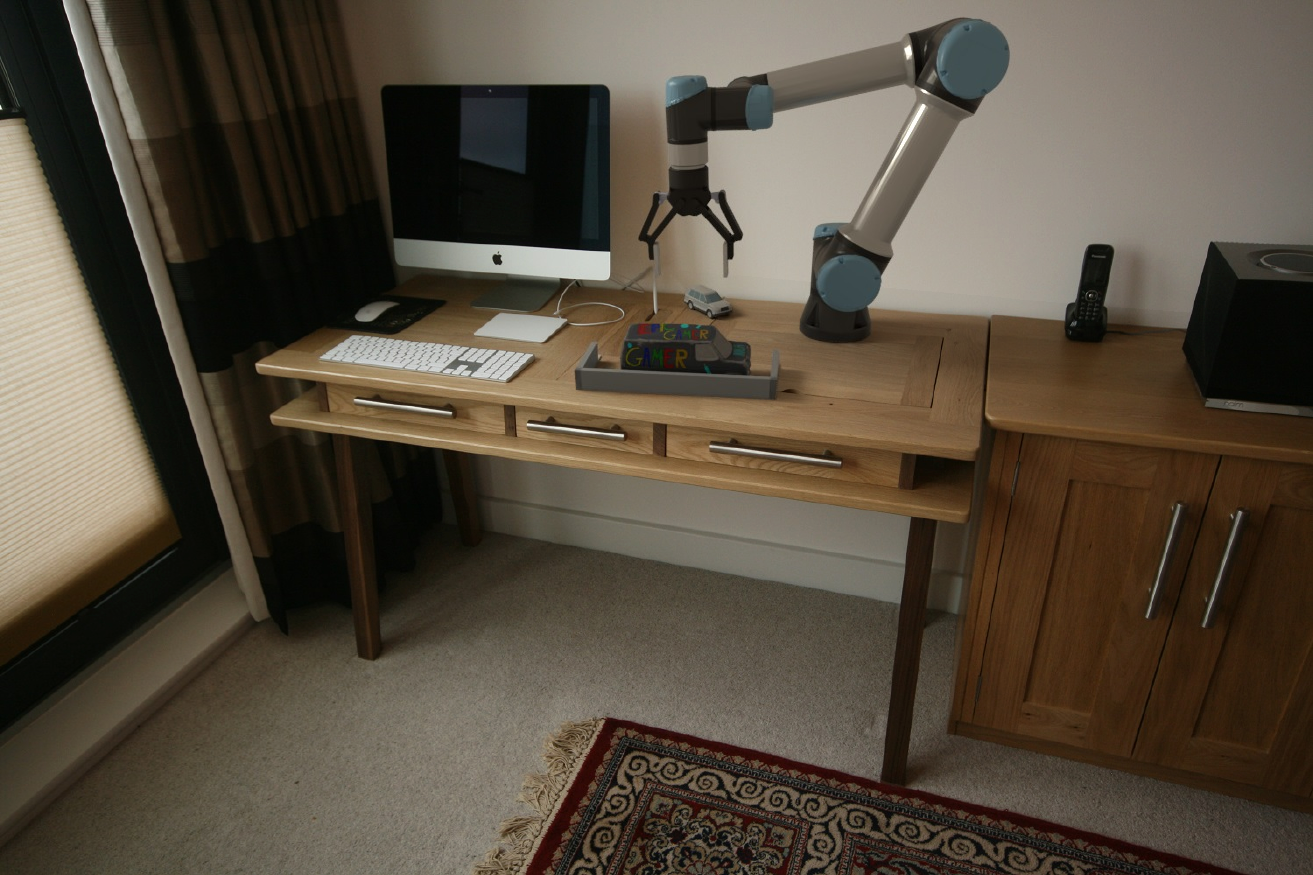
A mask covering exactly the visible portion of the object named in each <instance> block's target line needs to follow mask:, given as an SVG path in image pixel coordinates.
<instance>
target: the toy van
mask: <svg viewBox="0 0 1313 875" xmlns="http://www.w3.org/2000/svg"><path fill="white" fill-rule="evenodd" d="M751 357H752V348H751V345H750V343H748V342H747V341H734V340H728V338H726V337H725V336H724V334H722V332H720V330H719V329H718V328H717V327H716V326H715V325H710V324H706V325H705V324H695V323H693V324H692V323H631V324H630V325H629V326H628V328H627V331H626V334H625V336H624V338H623V342H622V346H621V352H620V356H619V361H620V362H619V363H620V364H619V365H620V369H619V370H639V371H660V372H681V373H702V374H724V375H745V376H752V375H751V373H752V371H751V367H752V360H751Z"/></svg>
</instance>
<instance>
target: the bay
mask: <svg viewBox="0 0 1313 875" xmlns="http://www.w3.org/2000/svg"><path fill="white" fill-rule="evenodd" d="M598 345H599V344H598V341H590V343H589V346H587V349H586V350H585V352H584V354H583V355H582V357H581V358H580V360H579V362H578V363H577V365H576V367H575V369H574V379H575V383H574V384H575V390H577V391H593V392H594V391H595V392H596V391H597V392H599V391H600V392H613V393H614V392H616V393H619V392H620V393H634V394H635V393H636V394H637V393H639V394H657V395H672V396H674V395H676V396H693V397H694V396H695V397H696V396H697V397H712V398H730V399H731V398H735V399H750V400H751V399H753V400H772V401H775V400H777V392H778V391H777V390H778V380H779V368H780V349H773V351H772V356H771V358H772V360H771V367H770V376H766V375H764V376H763V375H760V376H759V375H751V376H745V375H724V374H702V373H681V372H660V371H639V370H620V369H615V368H613V369H612V368H596V366H597V364H598V362H599V361H600V359H601V357H602V355H601V354H599V347H598Z"/></svg>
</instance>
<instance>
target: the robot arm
mask: <svg viewBox="0 0 1313 875" xmlns="http://www.w3.org/2000/svg"><path fill="white" fill-rule="evenodd" d="M1009 46H1010V45H1009V43H1008V39H1007V38H1006V36H1005V34H1004V33H1003V32H1002V30H1000V29H999V28H998V27H997V26H996V25H994V24H992V23H991V22H990V21H986V20H983V19H981V18H970V17H964V16H963V17H955V18H952V19H948V20H946V21H943V22H940V23H938V24H935V25H933V26H929V27H926V28H923V29H920V30H917V31H912V32H907V33H905V34H904V35H903V37H902V39H900V41H895V42H892V43H888V44H883V45H879V46H874V47H870V48H865V49H860V50H858V51H854V52H849V53H844V54H840V55H837V56H836V55H835V56H832V57H826V58H823V59H818V60H815V61H811V62H806V63H803V64H797V65H793V66H790V67H789V66H788V67H784V68H780V69H776V70H771V71H767V72H766V73H760V74H756V75H751V76H747V75H743V76H739V77H736V78H734V79H733V80H731V81H730V82H729V83H728V84H727V86H718V87H716V86H715V87H714V86H709V85H708V81H707V78H706V77H705V76H704V75H698V74H697V75H696V74H695V75H692V74H691V75H686V74H684V75H677V76H671V77H670V78H669V79H668V80H667V81H666V82H665V103H664V104H665V105H664V106H665V121H666V136H667V139H666V140H667V141H666V145H667V148H666V149H667V164H668V165H669V168H668V171H667V172H668V188H669V189H668V192H661V191H660V190H655V192H653V195H652V203H651V204H652V205H651V207H650V209H649V212H648V214H647V217H646V219H645V221H644V224H643V225H642V227H641V230H640V232H639V235H638V238H637V240H638V241H639V242H644V243H646V245H647V249H648V259H649V260H650V261H653V264H654V278H657V279H658V278H659V277H660V276H661V274H662V273H661V271H662V270H661V268H662V267H661V251H660V247H661V246H660V241H656V240H657V239H658V238H659V237H660V236H661V234H662V233H663V231H664V230H666V228H667V227H668V226H669V224H670V223H671V222H672V220H673V219H674V218H675V216H676V215H677V214H678V215H679V216H681V217H688V216H692V217H698V216H702V217H703V218H704V219H706V220H707V221H708V222H709V224H710V225H711V226H712V228H713V229H714V230H715V231H716V232H717V233H718V234H719V235H720V236H721V238H722V239H723V240H724V241H723V244H722V261H723V262H722V265H723V266H722V268H723V271H722V272H723V275H722V276H723V278H724V279H725V278H726V279H727V278H728V277H729V261H731V260H733V258H734V256H735V243H736V242H740V241H742V239H743V237H744V233H743V231H742V229H741V227H740V224H739V222H738V220H737V219H736V216H735V214H734V212H733V211H732V209H731V207H730V205H729V203H728V199H727V194H726V190H725V189H721V190H718V191H714V192H712V191H711V190H710V180H709V179H710V177H709V176H710V175H709V174H710V173H709V169H710V168H709V166H708V165H707V163H709V138H708V137H709V136H708V135H709V134H708V133H709V132H717V131H718V132H723V131H752V132H754V131H755V132H756V131H758V130H767V129H770V128H771V127H772V126H773V123H774V114H775V113H781V112H785V111H790V110H794V109H798V108H803V107H808V106H811V105H812V106H813V105H816V104H817V105H818V104H821V103H826V102H830V101H836V100H839V99H843V98H849V97H853V96H859V95H863V94H867V93H872V92H875V91H880V90H881V91H882V90H886V89H889V88H894V87H899V86H903V85H906V86H907V87H908V88H910V89H914V92H915V96H916V98H915V102H914V104H913V106H912V107H911V109H910V111H909V113H908V115H907V117H906V118H905V121H904V122H903V124H902V126H901V128H900V130H899V132H898V134H897V135H896V137H895V139H894V140H893V143H892V145H891V146H890V149H889V150H888V151H887V154H886V156H885V157H884V160H883V161H882V163H881V165H880V167H879V169H878V171H877V173H876V174H875V176H874V178H873V180H872V182H871V183H870V186H869V187H868V189H867V191H866V193H865V195H864V197H863V198H862V199H861V200H862V201H861V202H860V204H859V206H858V207H857V210H856V212H855V214H854V216H853V217H852V218H851V221H850V222H826V223H825V222H824V223H821V224H818V225H817V226H815V228H814V233H813V236H812V241H813V243H812V244H813V245H812V259H811V260H812V261H811V272H810V273H811V276H810V289H809V295H808V298H807V301H806V303H805V306H804V308H803V310H802V312H801V315H800V318H799V331H800V332H801V334H802V335H804V336H806V337H808V338H810V339H814V340H816V341H821V342H828V343H849V342H850V343H851V342H857V341H861V340H863V339H866V338H867V337H869V335H871V331H872V320H871V316H870V312H869V307H868V306H869V305H871V304H872V303H873V302H874V301H875V300H876V298H877V296H878V294H879V293H880V290H881V287H882V283H883V282H882V281H883V280H882V275H884V272H885V270H886V269H887V267H888V265H889V263H890V262H891V260H892V259H893V257H894V250H893V246H892V242H893V241H894V238H895V237H896V235H897V233H898V231H899V230H900V229H901V226H902V225H903V223H904V221H905V219H906V217H907V216H908V214H909V213H910V210H911V209H912V207H913V205H914V204H915V201H916V200H917V198H918V196H919V195H920V193H921V191H922V189H923V188H924V186H925V184H926V183H927V181H928V179H929V178H930V175H931V174H932V172H933V170H934V169H935V167H936V165H937V163H938V162H939V159H940V157H941V156H942V154H943V153H944V151H945V149H946V147H947V146H948V144H949V142H950V141H951V139H952V137H953V135H954V133H955V132H956V130H957V128H958V126H959V125H960V123H961V122H962V121H963V120H966V119H968V118H971V117H974V115H975V114H976V112H977V110H979V107H980V105H981V104H982V102H983V101H984V99H985V96H986V95H989V93H991V92H993V90H995V88H997V87H998V86H999V84H1001V82H1002V81H1003V79H1004V78H1005V76H1006V73H1007V72H1008V68H1009V66H1010V59H1011V51H1010V47H1009ZM711 200H714V202H715V204H717V205H719V207H720V208H719V209H720V210H721V213H722V214H723V215H724V218H725V220H726V222H727V224H728V225H729V227H730V229H731V231H729V229H728V227H727V226H725V225H724V223H723V222H722V221H721V219H720V218H718V216H717V215H716V214H715V213H714V211H713V210H712V209H711V207H710V206H709V203H710V202H711ZM665 201H667V202H668V203H669V205H670V206H671V207H672V208H671V209H670V211H668V213H667V214H666V215H665V217H663V219H662V220H661V222H660V223H659V224H658V226H657V227H656V228H655V230H653V231H652V233H651V234H648V233H649V231H650V228H651V226H652V224H653V222H654V219H655V217H656V214H657V213H658V210H659V208H660V205H663V204H664V202H665ZM731 232H732V233H731Z"/></svg>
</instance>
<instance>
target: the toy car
mask: <svg viewBox="0 0 1313 875" xmlns="http://www.w3.org/2000/svg"><path fill="white" fill-rule="evenodd" d="M683 302H684V304H685V305H687V306H688V309H689V310H691V311H693V310H697V311H699V312H701V313H703V314H705V315H706V316H707V318H708V319H710V320H712V319H715V318H716V317H720V316H723V315H724V316H728V315H730V314H731V313H733V307H732V305H731V304H732V303H731V302H730V301H728V300H725V296H722V297H721V295H720V294H719V293H718V292H717V291H716V290H714V289H712V288H710V287H707V286H705V285H703V284H697V285H692V286H689V287H688V289H687V290H686V292H685V295H684V300H683Z"/></svg>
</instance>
